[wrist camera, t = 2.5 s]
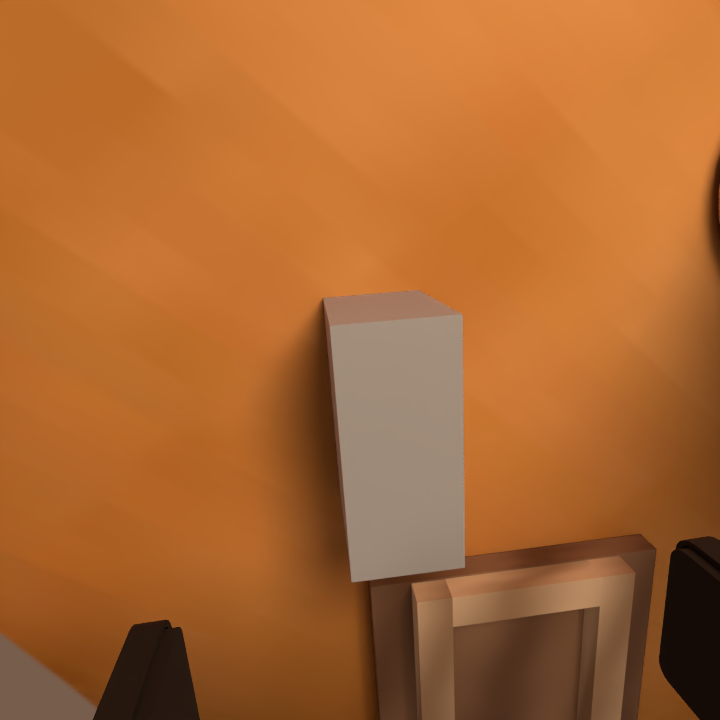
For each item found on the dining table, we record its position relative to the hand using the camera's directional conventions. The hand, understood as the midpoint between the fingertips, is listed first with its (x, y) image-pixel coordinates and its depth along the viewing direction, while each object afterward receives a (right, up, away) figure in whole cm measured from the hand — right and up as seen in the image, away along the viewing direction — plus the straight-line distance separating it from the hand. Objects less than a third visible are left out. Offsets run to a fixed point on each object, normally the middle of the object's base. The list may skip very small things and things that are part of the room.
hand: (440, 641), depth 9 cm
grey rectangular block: (-1, +4, +12) cm, 13 cm away
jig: (+6, -12, +17) cm, 22 cm away
